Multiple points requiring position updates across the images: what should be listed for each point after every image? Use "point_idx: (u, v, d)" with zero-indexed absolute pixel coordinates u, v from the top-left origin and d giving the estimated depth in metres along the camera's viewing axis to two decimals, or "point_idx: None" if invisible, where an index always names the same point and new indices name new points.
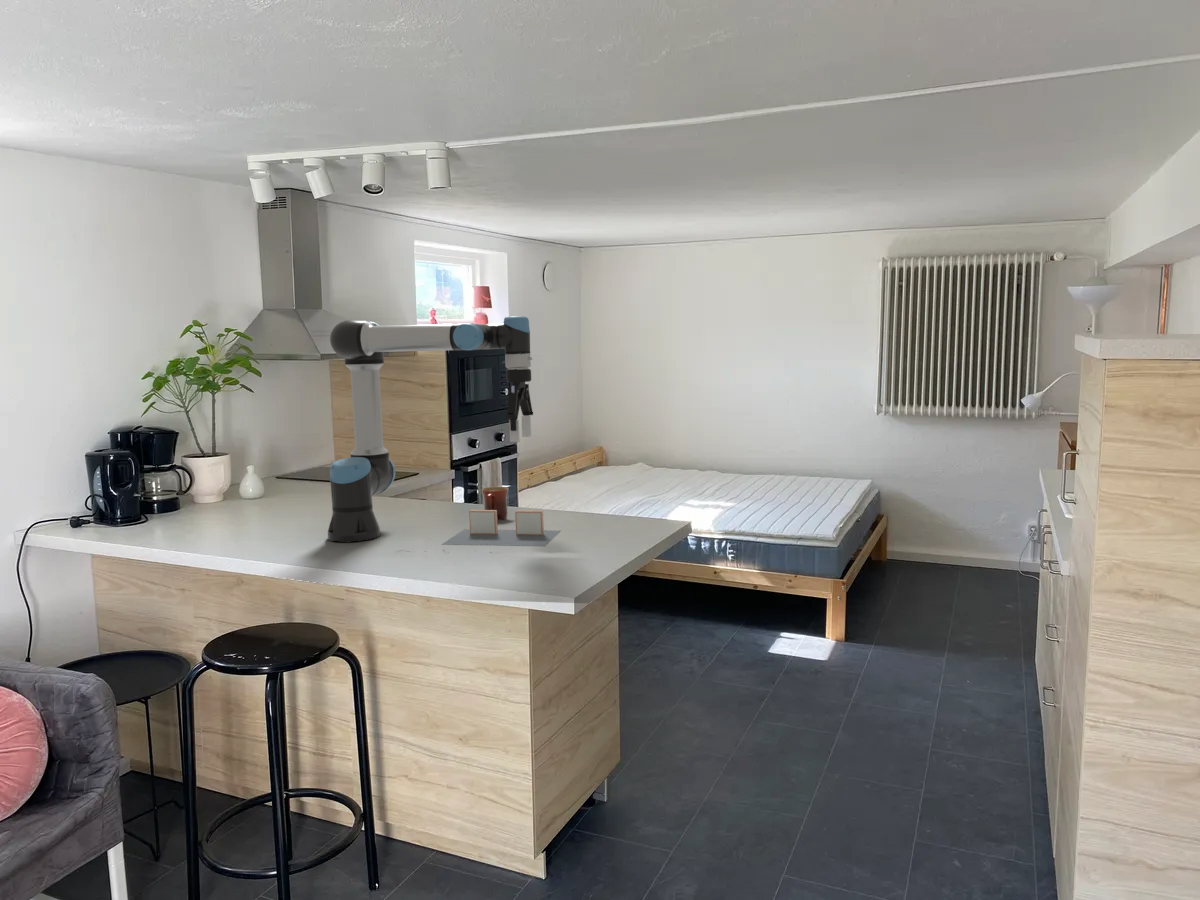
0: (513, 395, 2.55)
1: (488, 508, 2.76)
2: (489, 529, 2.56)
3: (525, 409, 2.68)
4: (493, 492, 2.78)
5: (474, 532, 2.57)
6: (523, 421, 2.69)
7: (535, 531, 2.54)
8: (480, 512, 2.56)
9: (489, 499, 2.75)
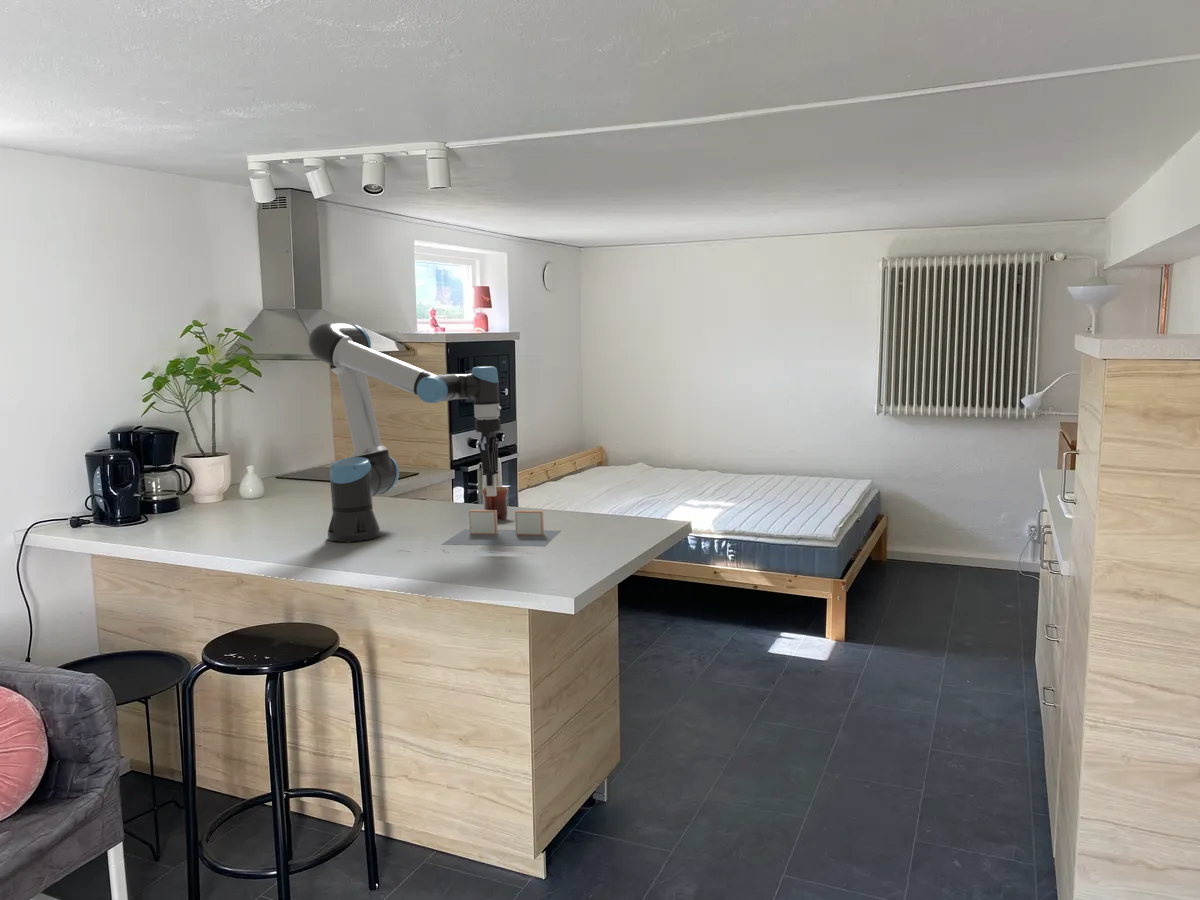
0: (484, 453, 2.57)
1: (488, 508, 2.76)
2: (489, 529, 2.56)
3: None
4: None
5: (474, 532, 2.57)
6: None
7: (535, 531, 2.54)
8: (480, 512, 2.56)
9: (489, 499, 2.75)
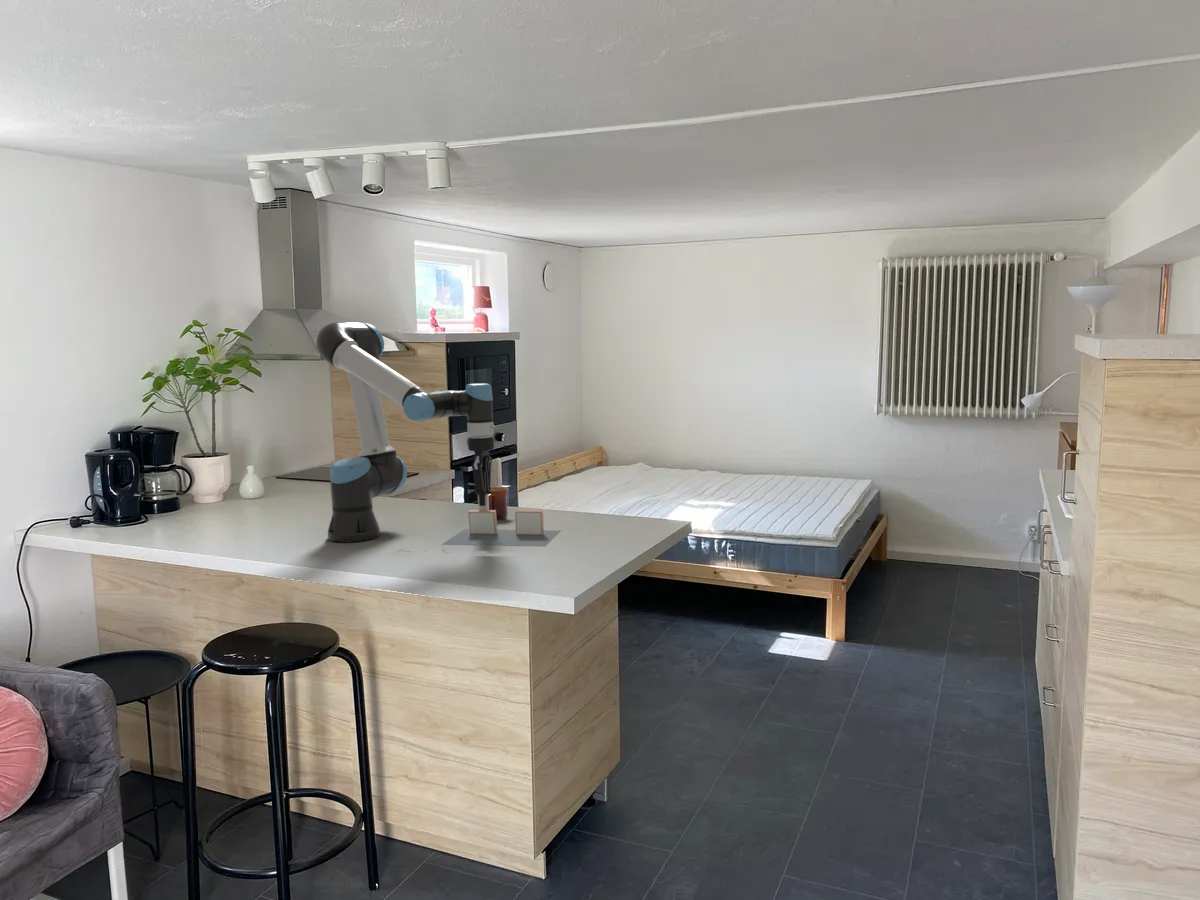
0: (477, 472, 2.51)
1: None
2: (489, 530, 2.56)
3: None
4: (493, 492, 2.78)
5: (474, 532, 2.57)
6: None
7: (535, 531, 2.54)
8: (479, 513, 2.55)
9: (489, 499, 2.75)
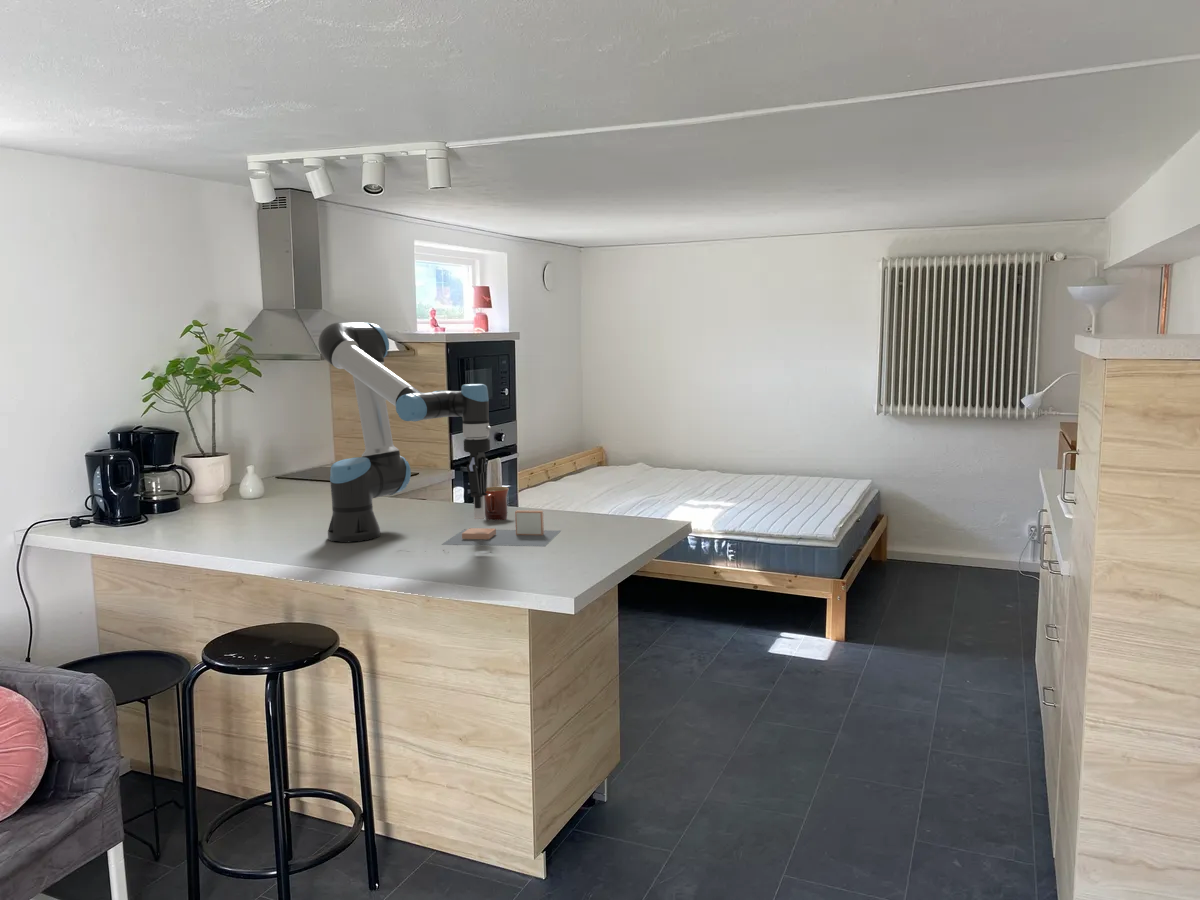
0: (473, 474, 2.47)
1: (488, 508, 2.76)
2: None
3: None
4: (493, 492, 2.78)
5: None
6: None
7: (535, 531, 2.54)
8: (474, 539, 2.50)
9: (489, 499, 2.75)
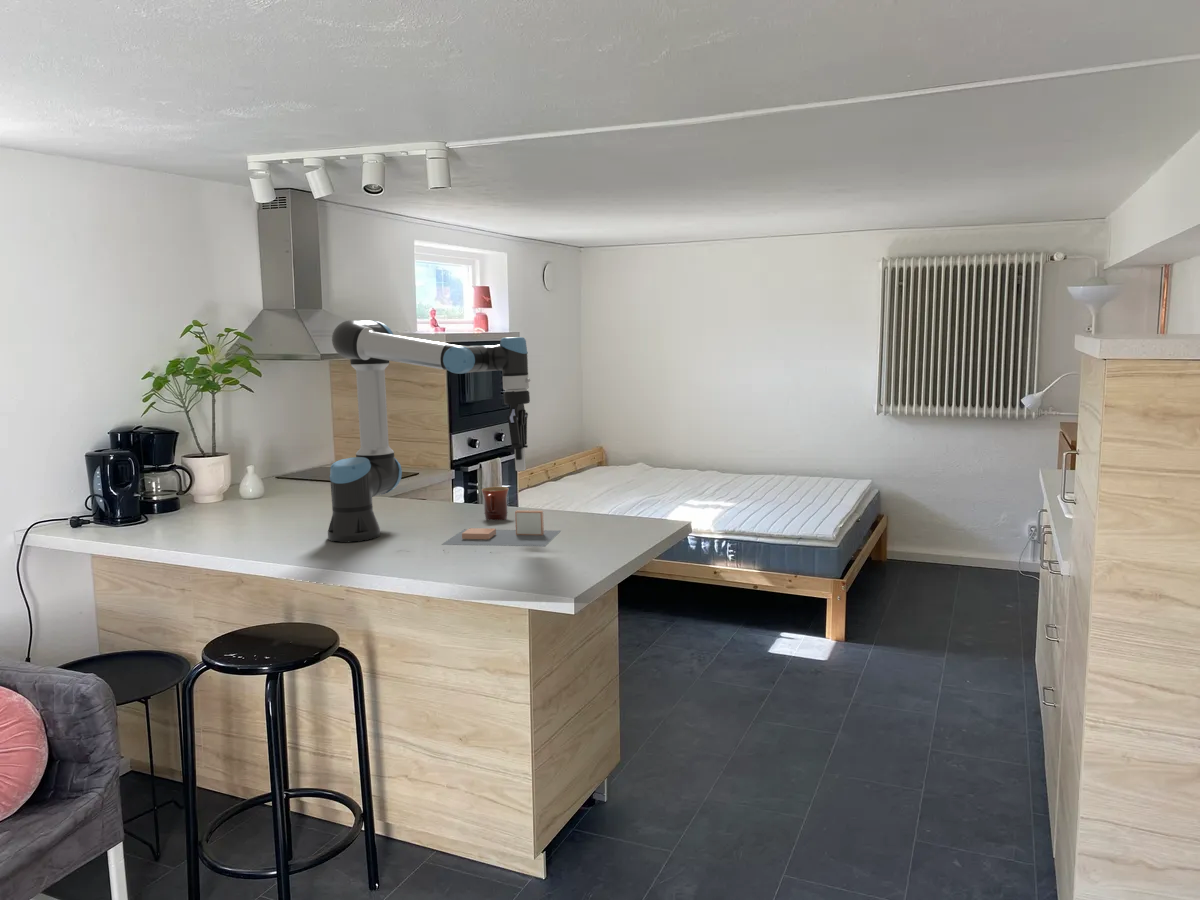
0: (513, 425, 2.51)
1: (488, 508, 2.76)
2: None
3: None
4: (493, 492, 2.78)
5: None
6: None
7: (535, 531, 2.54)
8: (474, 539, 2.50)
9: (489, 499, 2.75)
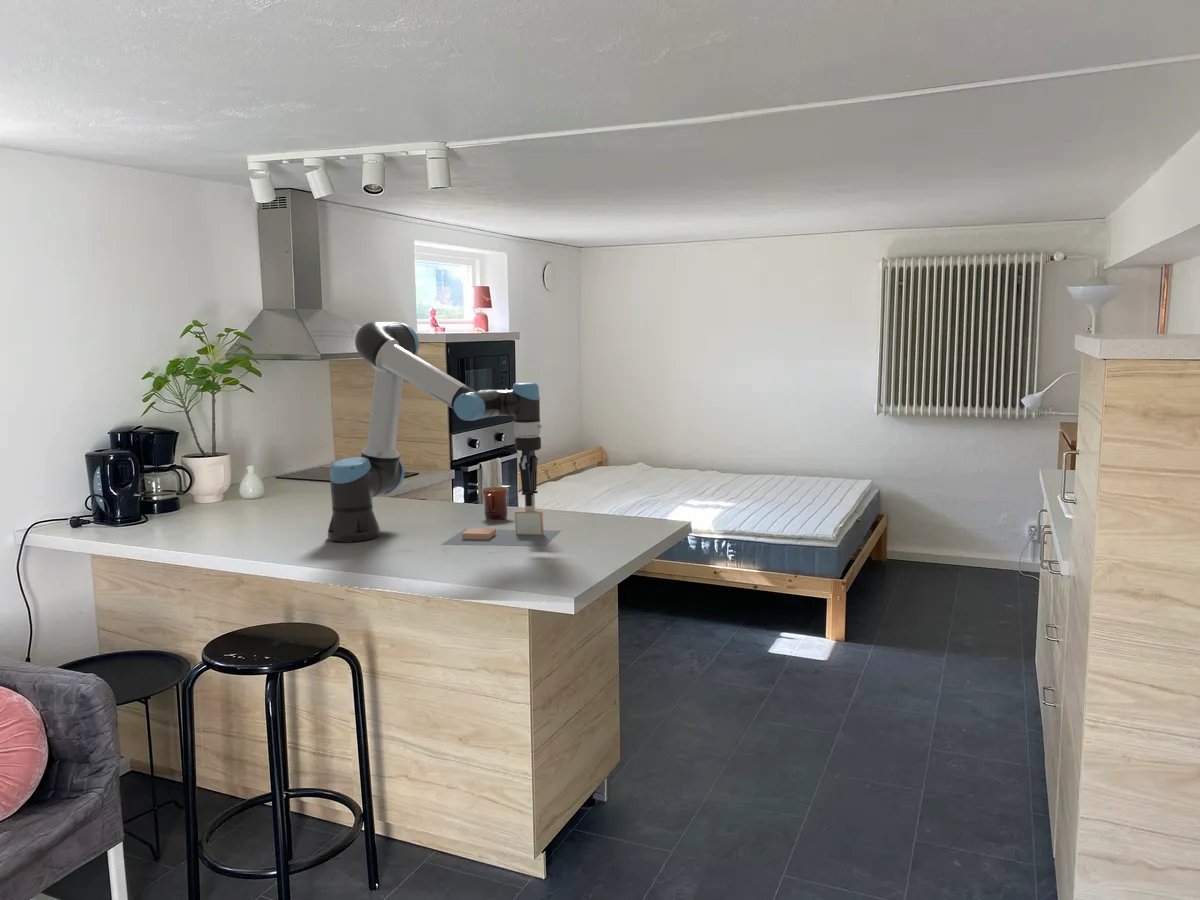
0: (525, 472, 2.49)
1: (488, 508, 2.76)
2: None
3: None
4: (493, 492, 2.78)
5: None
6: None
7: (535, 531, 2.54)
8: (474, 539, 2.50)
9: (489, 499, 2.75)
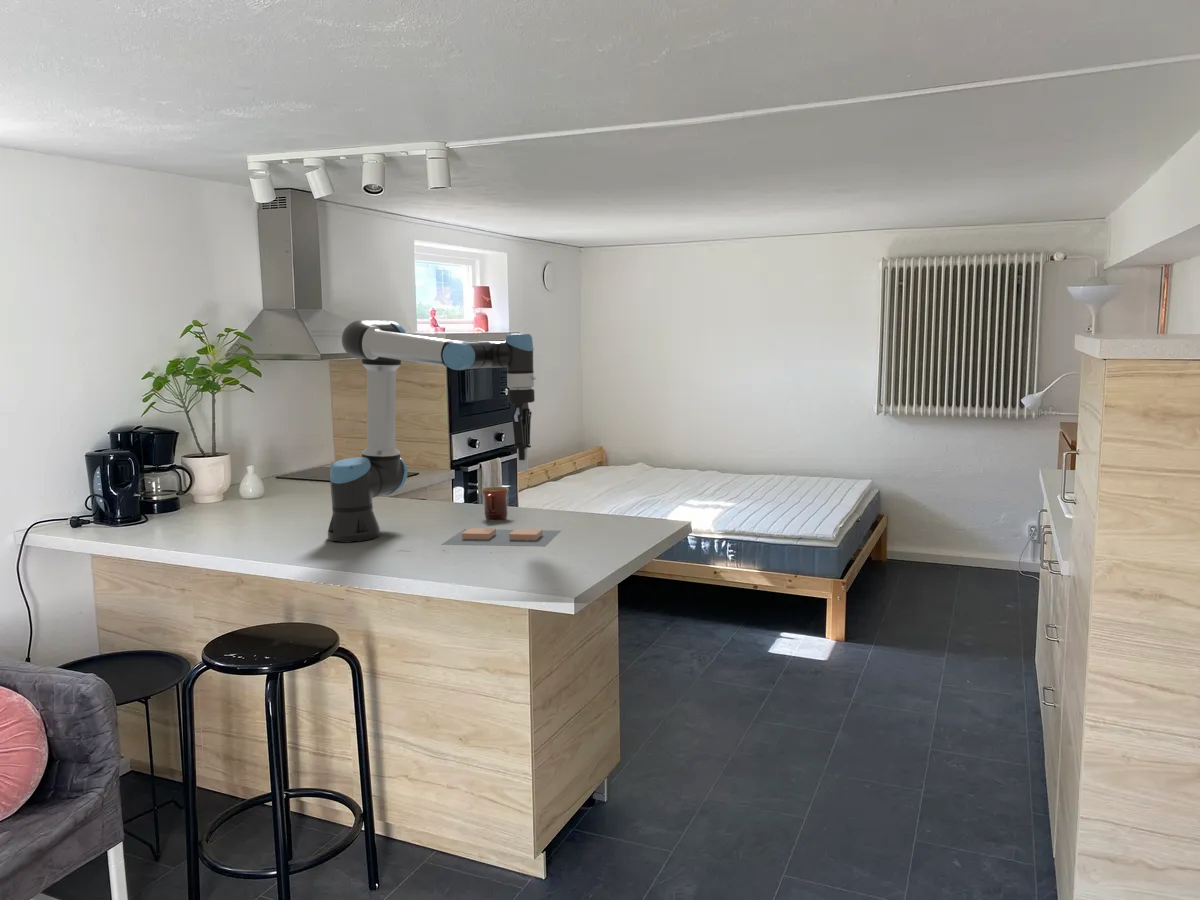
0: (518, 425, 2.43)
1: (488, 508, 2.76)
2: None
3: None
4: (493, 492, 2.78)
5: None
6: None
7: None
8: (474, 539, 2.50)
9: (489, 499, 2.75)
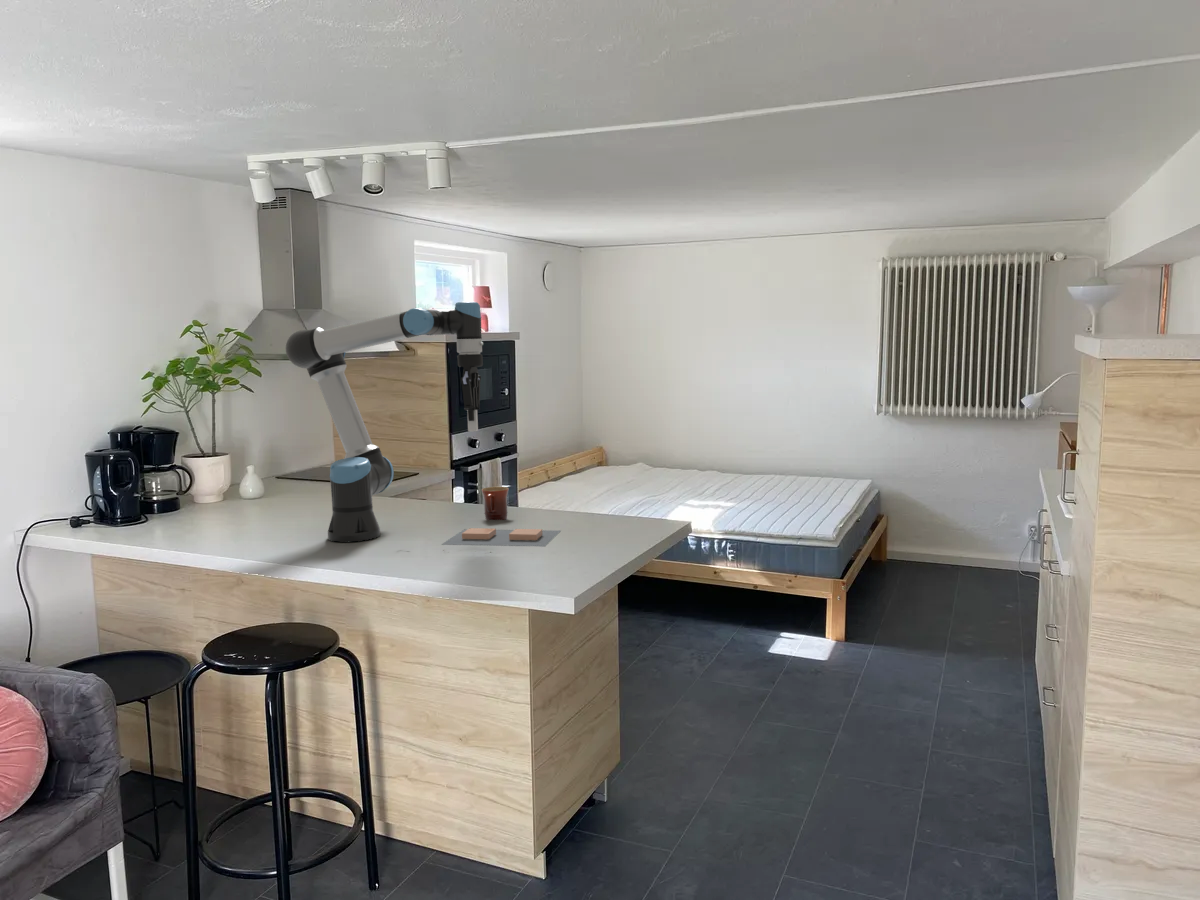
0: (466, 387, 2.60)
1: (488, 508, 2.76)
2: None
3: None
4: (493, 492, 2.78)
5: None
6: None
7: None
8: (474, 539, 2.50)
9: (489, 499, 2.75)
